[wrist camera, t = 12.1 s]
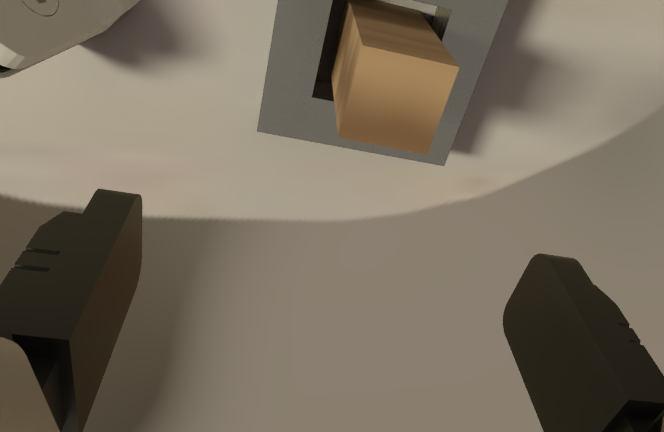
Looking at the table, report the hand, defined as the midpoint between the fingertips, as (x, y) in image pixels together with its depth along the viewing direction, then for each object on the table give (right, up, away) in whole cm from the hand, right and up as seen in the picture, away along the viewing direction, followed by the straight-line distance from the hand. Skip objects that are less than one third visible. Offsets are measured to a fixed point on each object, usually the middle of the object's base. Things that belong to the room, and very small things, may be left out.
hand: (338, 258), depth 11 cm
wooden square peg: (+2, +12, +22) cm, 25 cm away
